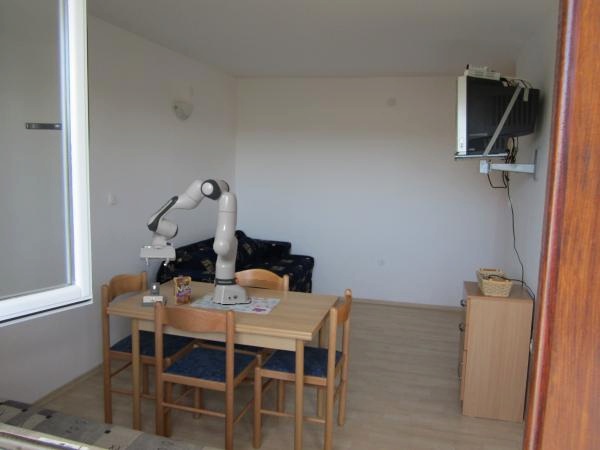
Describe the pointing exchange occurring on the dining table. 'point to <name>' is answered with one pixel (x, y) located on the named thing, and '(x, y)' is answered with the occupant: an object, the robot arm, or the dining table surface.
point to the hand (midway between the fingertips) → (156, 265)
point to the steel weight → (154, 289)
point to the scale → (152, 300)
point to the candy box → (181, 290)
